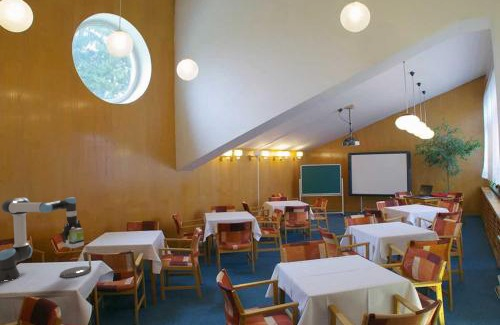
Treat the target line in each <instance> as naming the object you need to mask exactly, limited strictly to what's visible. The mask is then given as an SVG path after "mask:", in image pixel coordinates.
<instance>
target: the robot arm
mask: <svg viewBox="0 0 500 325" xmlns="http://www.w3.org/2000/svg"><path fill="white" fill-rule="evenodd" d="M64 199H65V200H64ZM64 199H62V200H61V199H60V200H59V199H58V200H53V201H50V202H30V200H29V199H28V198H27V197H24V196H23V197H16V198H10V199H6V200H4V201H3V202H2V204H1V205H0V209H1V211H2V212H3V213H5V214H10V215H11V216H13V217H12V218H13V234H14V235H13V236H14V237H13V238H14V244H13V245H12V247H11V248H6V249H3V250H1V251H0V281H4V280H11V281H13V280H12V279H14V280H16V279H15V278H17V279H18V277H19V276H20V277H21V275H20V272H19V269H18V267H17V263H19V262H22V261H25V260H27V259H29V258H31V257H32V254H33V247H32V246H31V245H30V243H29V242H28V241H27V237H28V236H27V220H26V215H27V214H28V213H43V214H47V213H51V212H55V211H60V210H65V213H66V222H67V223H64V228H63V229H64V231H63V233H62V237H63V236H65V240H66V244H69V236H68V234H69V230H71V228H72V227H75V228H82V225H81V223H80V221H81V220H78V214H77V200H76V197H75V196H72V197H66V198H64ZM20 277H19V278H20Z"/></svg>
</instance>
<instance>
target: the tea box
mask: <svg viewBox="0 0 500 325" xmlns="http://www.w3.org/2000/svg"><path fill="white" fill-rule="evenodd" d="M63 231H64V228H63V229H62V230H61V232H62V234H63ZM68 236H69V244H66V240H65V236H63V235H62V246H63V247H64V248H71V249H77V248H80V247H83V246H84V245H85V237H84V228H83V227H81V228H75V227H72V228H71V230H69V234H68Z"/></svg>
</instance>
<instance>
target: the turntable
mask: <svg viewBox="0 0 500 325" xmlns="http://www.w3.org/2000/svg"><path fill="white" fill-rule="evenodd" d="M91 255H92V254H88V266H86V265H83V266H75V267H70V268H67V269H64V270H62V271H60V274H59V276H60V277H61V278H63V279H71V278H78V277H81V276H84V275H87V274H89V273H90V272H92V258H91V257H92V256H91Z"/></svg>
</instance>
